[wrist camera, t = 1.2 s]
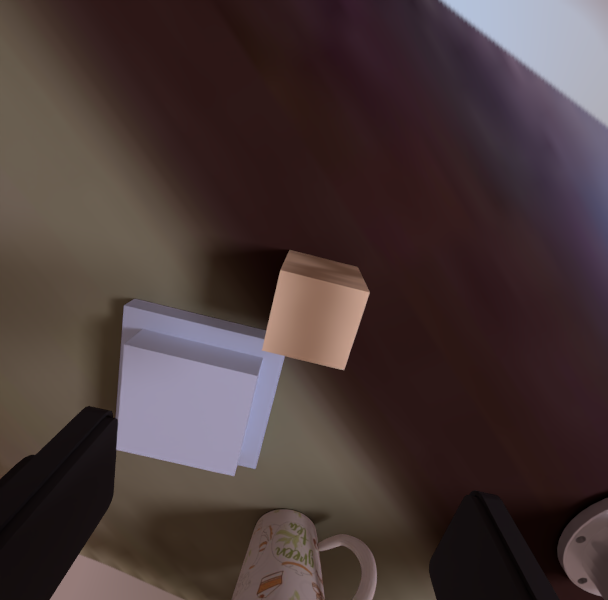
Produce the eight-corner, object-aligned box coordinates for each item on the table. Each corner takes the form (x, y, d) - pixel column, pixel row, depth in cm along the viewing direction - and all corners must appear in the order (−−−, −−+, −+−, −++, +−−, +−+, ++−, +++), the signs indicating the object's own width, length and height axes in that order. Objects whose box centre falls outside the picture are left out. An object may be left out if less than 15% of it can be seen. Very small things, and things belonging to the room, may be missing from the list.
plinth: (289, 336, 26) (284, 362, 22) (258, 455, 30) (249, 494, 26) (134, 298, 25) (102, 318, 22) (124, 424, 29) (95, 460, 25)
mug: (227, 514, 32) (189, 651, 23) (347, 473, 30) (360, 605, 21) (268, 569, 35) (249, 714, 25) (382, 534, 32) (409, 679, 23)
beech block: (357, 266, 24) (369, 292, 18) (338, 329, 26) (344, 370, 20) (289, 249, 24) (280, 270, 18) (274, 313, 25) (261, 350, 20)
